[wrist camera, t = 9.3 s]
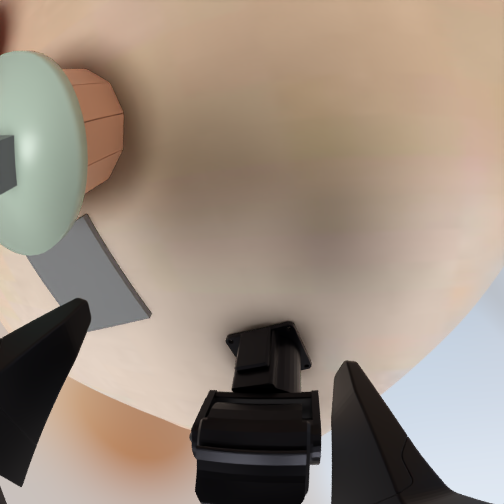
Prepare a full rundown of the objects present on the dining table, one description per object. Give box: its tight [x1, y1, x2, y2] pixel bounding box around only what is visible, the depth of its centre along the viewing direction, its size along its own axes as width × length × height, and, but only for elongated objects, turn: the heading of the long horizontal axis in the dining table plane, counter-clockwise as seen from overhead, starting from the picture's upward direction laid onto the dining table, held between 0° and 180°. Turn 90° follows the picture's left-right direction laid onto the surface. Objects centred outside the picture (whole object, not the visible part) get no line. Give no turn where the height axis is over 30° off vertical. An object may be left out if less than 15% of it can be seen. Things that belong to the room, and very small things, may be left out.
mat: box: [26, 214, 151, 332], centre depth 25 cm, size 11×11×1 cm
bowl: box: [62, 69, 124, 194], centre depth 15 cm, size 10×10×6 cm
